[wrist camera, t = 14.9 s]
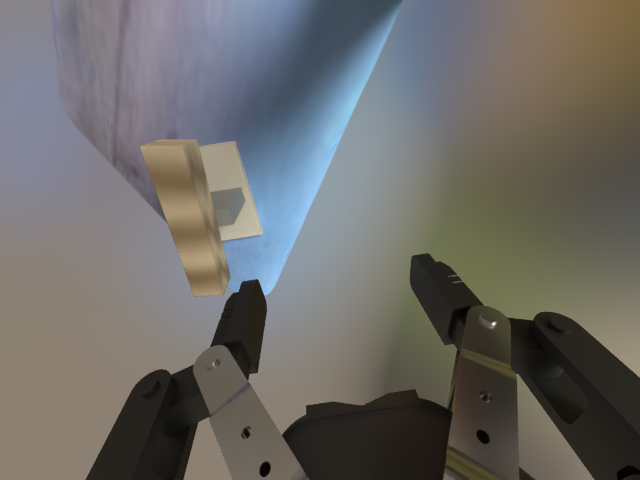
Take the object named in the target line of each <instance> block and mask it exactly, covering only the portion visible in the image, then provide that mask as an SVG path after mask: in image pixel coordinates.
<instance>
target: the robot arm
mask: <svg viewBox="0 0 640 480" xmlns="http://www.w3.org/2000/svg"><path fill="white" fill-rule="evenodd" d="M410 284H411V287H412V290H413V292H414V293H415V295H416V297H417V298H418V300H419V302H420V303H421V305H422V307H423V309H424V311H425V312H426V314H427V316H428V317H429V319H430V321H431V322H432V324H433V326H434V328H435V329H436V331H437V333H438V335H439V336H440V338H441V340H442V341H443V343H444V345H449V344H454V345H455V346H456V348H457V352H456V357H455V363H454V368H453V374H452V379H451V384H450V390H449V394H448V399H447V404H446V408H445V407H443V406H441V405H439V404H437V403H435V402H432V401H430V400H426V399H422V398H418V395H417V393H416V390H415V389H413V390H407V391H400V392H394V393H388V394H386V395H384V396H382V397H380V398H378V399H375V400H373V401H371V402H370V403H367V404H365V405H362V406H361V405H352V404H346V403H339V402H328V403H320V404H314V405H307V406H306V415H304V416H303V417H301V418H299V419H298V420H296V421H295V422H294V423H293V424H291V425H290V426H289V428H287V430H286V431H285V432H284V433H283V434H282V435H281V433H280V432H279V430H278V428H277V427H276V425H275V424H274V422H273V420H272V419H271V417H270V416H269V414H268V412H267V411H266V409H265V407H264V406H263V404H262V403H261V401H260V399H259V398H258V396H257V394H256V393H255V391H254V390H253V388H252V387H251V385H250V383H248V379H249V374H253V373H258V366H259V360H260V353H261V346H262V340H263V333H264V327H265V319H266V313H267V304H266V300H265V297H264V294H263V291H262V289H261V286H260V283H259V281H258V280H257V279H256V280H249V281H243V282H242V283H241V286H240V289H239V292H237V293H233V294H232V295H231V296H230V298H229V299H228V300H227V301H226V304H225V307H224V312H223V313H222V315H221V319H220V321H219V324H218V327H217V329H216V332H215V335H214V338H213V341H212V344H211V346H210V348H208V349H207V350H205V351H204V352H203V353H202V354H201V355H200V356H199V357H198V358H197V360H196V361H195V363H194V365H192V366H190V367H188V368H185V369H183V370H181V371H179V372H177V373H175V374H172V375H171V374H170V373H169V372H168V371H167V370H163V369H161V370H156V371H154V372H152V373H149V374H148V375H146V376H145V377H144V378H142V379H141V380H140V381H139V382H138V383H137V384H136V385H135V387H134V388H133V390H132V391H131V393H130V395H129V397H128V399H127V401H126V403H125V405H124V407H123V408H122V410H121V412H120V414H119V416H118V418H117V420H116V422H115V424H114V426H113V428H112V430H111V432H110V434H109V436H108V438H107V439H106V442H105V443H104V445H103V447H102V449H101V451H100V453H99V455H98V457H97V459H96V461H95V463H94V465H93V467H92V468H91V470H90V472H89V474H88V476H87V478H86V480H183V479H184V475H185V471H186V467H187V464H188V460H189V456H190V452H191V448H192V444H193V440H194V436H195V433H196V429H197V425H198V422H199V421H201V420H203V419H205V418H207V417H209V421H210V424H211V426H212V429H213V431H214V434H215V436H216V439H217V441H218V444H219V446H220V449H221V451H222V454H223V456H224V459H225V461H226V464H227V466H228V469H229V471H230V474H231V476H232V479H233V480H535V479H534V478H532V477H531V476H530V475H529V474H528V473H526V472H525V471H524V470H523V469H521V468H520V467H519V453H518V415H517V414H518V411H517V376H516V374H519V375H520V376H521V378H522V379H523V381H524V382H525V384H526V385H527V386H528V388H529V389H530V391H531V392H532V393H533V395H534V396H535V397H536V399H537V400H538V402H539V403H540V404H541V406H542V407H543V409H544V410H545V411H546V413H547V414H548V416H549V417H550V418H551V420H552V421H553V422H554V424H555V425H556V426H557V428H558V429H559V431H560V432H561V434H562V435H563V436H564V438H565V439H566V440H567V442H568V443H569V445H570V446H571V447H572V449H573V450H574V451H575V453H576V454H577V456H578V457H579V459H580V460H581V461H582V463H583V464H584V465H585V467H586V468H587V470H588V471H589V472H590V474H591V475H592V477H593V478H594V479H595V480H640V378H639V377H638V376H637V375H636V374H635V373H634V372H633V371H631V370H630V369H629V368H628V367H627V366H626V365H624V364H623V363H622V362H621V361H620V360H619V359H618V358H617V357H615V356H614V355H613V354H612V353H611V352H610V351H609V350H608V349H606V348H605V347H604V346H603V345H602V344H601V343H600V342H598V341H597V340H596V339H595V338H594V337H593V336H591V335H590V334H589V333H588V332H587V331H586V330H585V329H584V328H582V327H581V326H580V325H579V324H578V323H576V322H575V321H574V320H572V319H570V318H568V317H566V316H564V315H561V314H558V313H553V312H540V313H538V314H537V315H536V316H535V317H534V319H533V321H532V320H523V319H514V318H507V317H506V316H505V315H504V314H503V313H502V312H500V311H499V310H497V309H495V308H492V307H489V306H484V305H483V304H482V303H481V302H480V300H479V299H478V298H477V297H476V296H475V295H474V293H473V292H472V291H471V290H470V289H469V288H468V287H467V286H466V284H465V283H464V282H462V280H461V279H460V278H459V276H457V274H456V273H455V272H454V271H453V270H452V269H451V267H449V266H447V265H446V264H444V263H442V262H435V261H434V259H433V258H432V257H431V255H430V254H428V253H427V254H420V255H414V256H412V258H411V269H410Z"/></svg>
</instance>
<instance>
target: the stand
mask: <svg viewBox="0 0 640 480" xmlns="http://www.w3.org/2000/svg"><path fill="white" fill-rule="evenodd" d="M199 148H200V152H201V157H202V161H203V165H204V169H205V173H206V177H207V182H208V186H209V190H210V194H211V198H212V202H213V206H214V211H215V215H216V219H217V223H218V227H219V231H220V236H221V240H222V241H225V240H231V239H237V238H244V237H250V236H257V235H262V234H263V228H262V225H261V221H260V218H259V215H258V211H257V208H256V205H255V202H254V198H253V195H252V192H251V188H250V185H249V182H248V178H247V175H246V172H245V169H244V165H243V162H242V159H241V155H240V152H239V149H238V146H237V142H236V140H234V141H228V142H222V143H215V144H209V145H203V146H199Z"/></svg>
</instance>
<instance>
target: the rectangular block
mask: <svg viewBox="0 0 640 480" xmlns="http://www.w3.org/2000/svg"><path fill="white" fill-rule="evenodd" d="M140 149H141V152H142V154H143V157H144V160H145V162H146V165H147V168H148V171H149V173H150V176H151V179H152V182H153V184H154V187H155V190H156V193H157V195H158V198H159V201H160V204H161V206H162V209H163V212H164V215H165V217H166V220H167V223H168V226H169V228H170V231H171V234H172V236H173V239H174V242H175V245H176V247H177V250H178V253H179V256H180V259H181V261H182V264H183V267H184V270H185V272H186V275H187V278H188V281H189V283H190V286H191V289H192V291H193V294H194V296H195V297H196V296H220V295H224V292H225V290H226V287H227V285H228V282H229V280H230V273H229V269H228V265H227V260H226V256H225V252H224V248H223V244H222V240H221V236H220V231H219V227H218V223H217V219H216V215H215V211H214V206H213V202H212V198H211V194H210V190H209V186H208V182H207V177H206V173H205V169H204V165H203V161H202V157H201V152H200V148H199V144H198V140H157V141H154V142H151V143H148V144H144V145H141V146H140Z"/></svg>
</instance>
